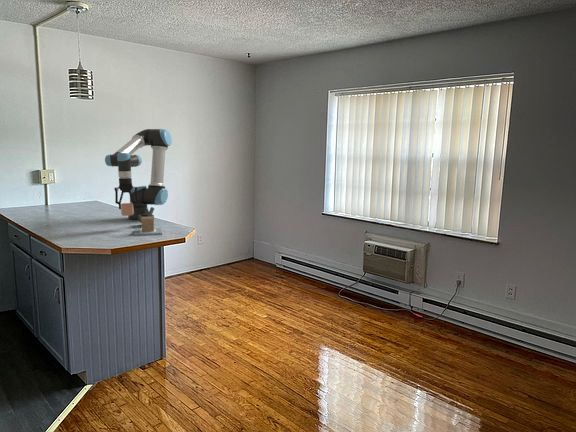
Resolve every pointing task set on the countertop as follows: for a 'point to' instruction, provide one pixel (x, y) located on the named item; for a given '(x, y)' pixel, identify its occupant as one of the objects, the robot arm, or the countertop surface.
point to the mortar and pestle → (147, 214)
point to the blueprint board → (139, 232)
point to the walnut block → (147, 224)
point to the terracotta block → (127, 209)
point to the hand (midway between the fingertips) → (127, 214)
